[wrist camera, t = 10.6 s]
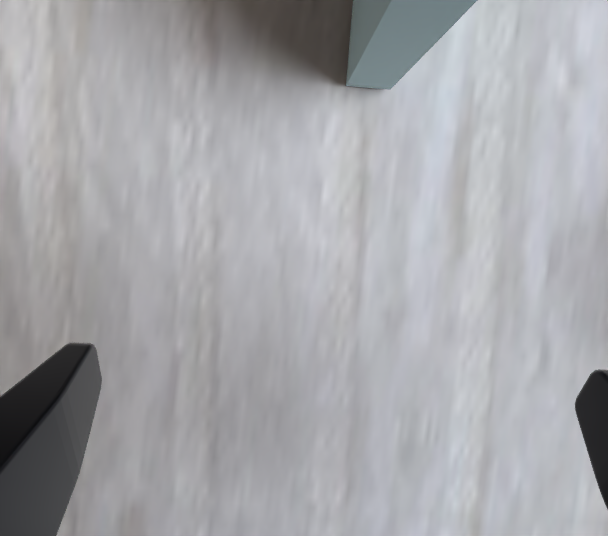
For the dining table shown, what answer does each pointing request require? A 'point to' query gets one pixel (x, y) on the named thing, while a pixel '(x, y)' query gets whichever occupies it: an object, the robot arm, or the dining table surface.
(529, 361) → the dining table surface
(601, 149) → the dining table surface
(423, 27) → the pale blue slab box
